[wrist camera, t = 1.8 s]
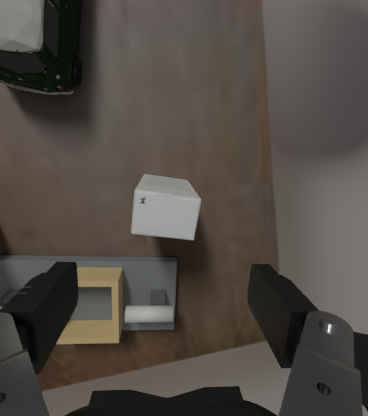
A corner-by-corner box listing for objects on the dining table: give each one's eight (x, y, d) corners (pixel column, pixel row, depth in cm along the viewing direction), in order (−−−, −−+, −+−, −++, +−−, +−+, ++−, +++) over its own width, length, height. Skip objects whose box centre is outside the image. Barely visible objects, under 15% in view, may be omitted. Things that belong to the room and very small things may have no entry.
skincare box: (140, 204, 34) (128, 234, 22) (144, 173, 33) (133, 187, 21) (184, 210, 35) (194, 242, 23) (189, 179, 34) (202, 197, 22)
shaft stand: (10, 324, 37) (-20, 359, 31) (1, 255, 34) (-34, 278, 28) (173, 322, 39) (175, 355, 33) (176, 257, 36) (179, 279, 30)
